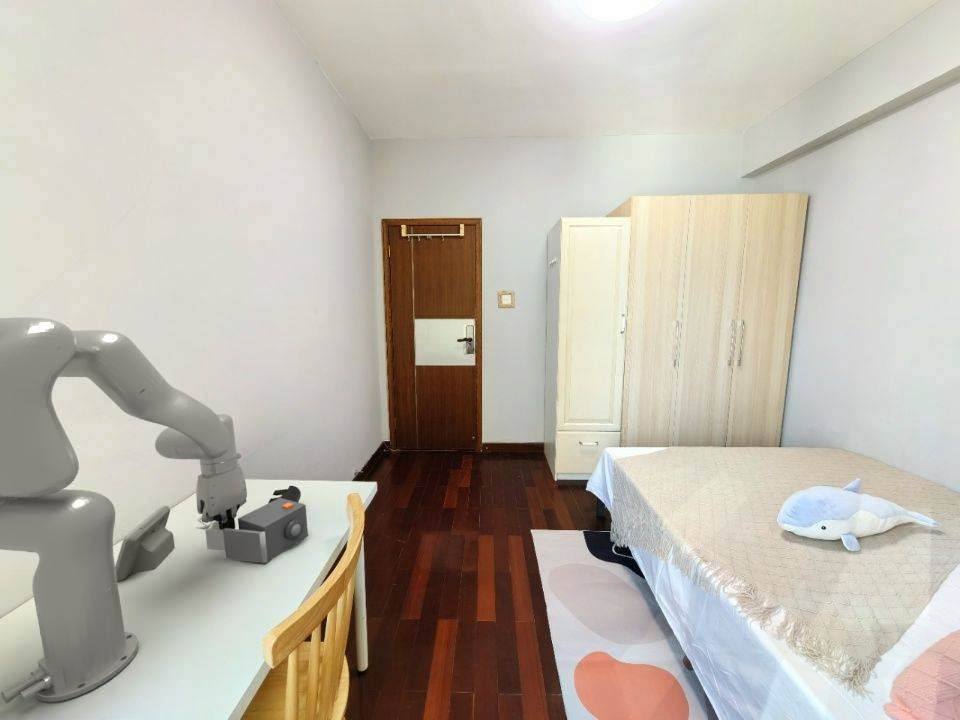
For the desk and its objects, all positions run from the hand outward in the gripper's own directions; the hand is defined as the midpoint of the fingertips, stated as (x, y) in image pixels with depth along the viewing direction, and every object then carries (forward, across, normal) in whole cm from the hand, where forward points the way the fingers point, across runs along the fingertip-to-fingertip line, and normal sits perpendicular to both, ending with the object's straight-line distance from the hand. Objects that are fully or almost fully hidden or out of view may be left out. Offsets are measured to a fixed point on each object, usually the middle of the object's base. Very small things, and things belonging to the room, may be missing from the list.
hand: (228, 534), depth 99 cm
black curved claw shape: (+6, -19, -2) cm, 20 cm away
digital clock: (+5, +10, -17) cm, 20 cm away
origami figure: (+6, -6, -15) cm, 17 cm away
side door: (+4, +2, +5) cm, 7 cm away
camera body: (+5, -7, +8) cm, 12 cm away
